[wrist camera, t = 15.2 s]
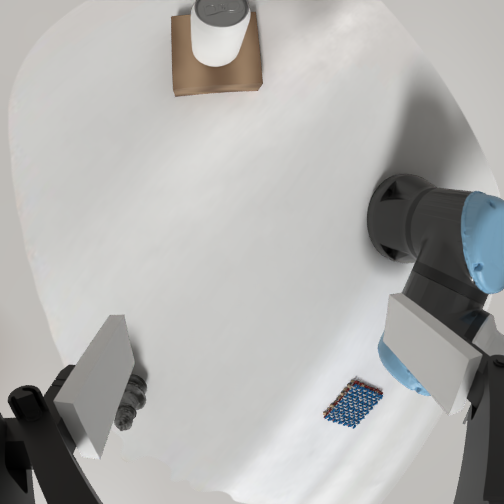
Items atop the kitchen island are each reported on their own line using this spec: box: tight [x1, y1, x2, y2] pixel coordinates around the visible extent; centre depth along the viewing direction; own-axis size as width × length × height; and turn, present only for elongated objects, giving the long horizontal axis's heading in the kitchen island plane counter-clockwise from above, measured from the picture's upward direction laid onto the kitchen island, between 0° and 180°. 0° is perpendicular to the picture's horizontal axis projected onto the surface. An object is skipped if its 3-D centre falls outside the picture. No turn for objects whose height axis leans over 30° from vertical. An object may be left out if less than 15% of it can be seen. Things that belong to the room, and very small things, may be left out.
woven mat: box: [323, 380, 383, 429], centre depth 58 cm, size 10×11×2 cm
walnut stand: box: [171, 12, 263, 97], centre depth 38 cm, size 12×12×4 cm
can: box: [191, 0, 251, 67], centre depth 31 cm, size 6×6×12 cm
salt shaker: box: [114, 374, 147, 431], centre depth 44 cm, size 6×6×12 cm
